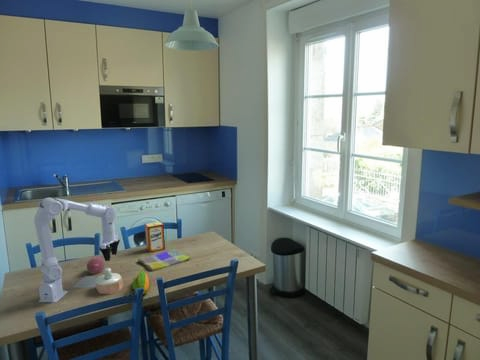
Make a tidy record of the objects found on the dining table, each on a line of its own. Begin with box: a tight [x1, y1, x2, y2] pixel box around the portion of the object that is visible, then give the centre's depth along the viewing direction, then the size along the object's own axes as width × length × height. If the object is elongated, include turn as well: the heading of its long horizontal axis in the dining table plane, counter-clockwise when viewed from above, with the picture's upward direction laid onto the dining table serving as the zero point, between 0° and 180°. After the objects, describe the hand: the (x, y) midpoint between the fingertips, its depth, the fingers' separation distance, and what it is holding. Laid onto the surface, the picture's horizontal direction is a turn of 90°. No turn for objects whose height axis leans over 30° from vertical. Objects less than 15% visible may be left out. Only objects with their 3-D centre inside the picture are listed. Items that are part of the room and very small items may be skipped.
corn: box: [132, 269, 150, 295], centre depth 166 cm, size 7×8×20 cm
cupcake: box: [86, 256, 105, 275], centre depth 182 cm, size 9×8×12 cm
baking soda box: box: [144, 221, 166, 254], centre depth 213 cm, size 10×6×16 cm
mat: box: [72, 275, 100, 289], centre depth 173 cm, size 12×12×1 cm
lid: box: [95, 267, 122, 285], centre depth 165 cm, size 11×11×5 cm
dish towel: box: [136, 248, 191, 272], centre depth 197 cm, size 18×24×3 cm
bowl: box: [96, 276, 124, 295], centre depth 166 cm, size 11×11×4 cm
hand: (110, 257), depth 177 cm, fingers open, 7 cm apart
